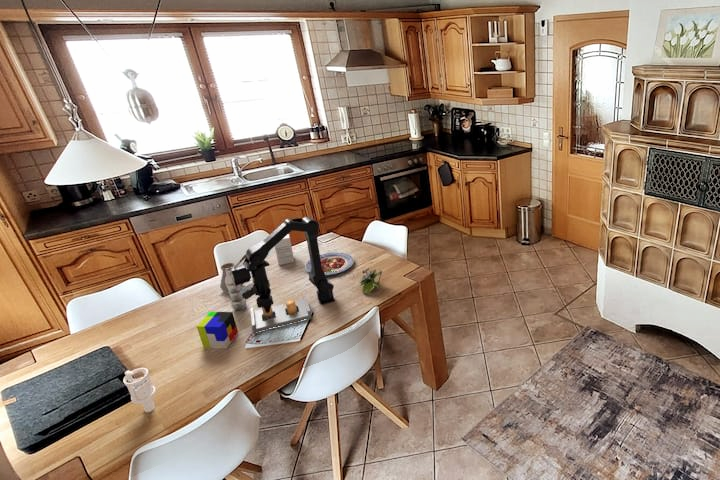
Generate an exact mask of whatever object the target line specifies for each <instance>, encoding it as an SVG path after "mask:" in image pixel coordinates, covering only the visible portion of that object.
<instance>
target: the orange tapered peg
mask: <svg viewBox="0 0 720 480" xmlns="http://www.w3.org/2000/svg"><path fill="white" fill-rule="evenodd" d="M295 301H296V300H295V299H290V300H287V301H286V302H285V303H286V307H287V312H286V313H287V315H290V314H294V313H298V310H297V308H296V303H295Z"/></svg>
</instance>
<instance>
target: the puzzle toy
mask: <svg viewBox="0 0 720 480" xmlns="http://www.w3.org/2000/svg"><path fill="white" fill-rule="evenodd" d="M196 329H197V333H198V334H199V337H200V341H201V345H202V347H203V348H210V349H211V348H218V349H227V348H228V346H229V345H230V344H231V342H232V341H234V339H235V337H236V336H237V335H238V333H239V331H238V326H237V324H236V319H235V315H234V312H233V311H209V312H208V313H207V314H206V315H205V316H204V318H203V319H201V321H200V322H199V323H198V324H197V325H196Z"/></svg>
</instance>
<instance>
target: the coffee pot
mask: <svg viewBox="0 0 720 480" xmlns="http://www.w3.org/2000/svg"><path fill="white" fill-rule="evenodd" d="M245 258H246V253H245V254H244V255H243V256H242V257H241V259H240V260H239V261H238V262H237V263H236V265H235V264H234V263H233V262H228V263H224V264H222V265H221V266H220V269H221V270H222V273H221V274H222V275H221V281H220V285H219V286H220V288H221V290H222V291H224V292H226V293H229V290H228V288H227V286H226V284H225V278H226V276H227V275H226V271H225V270H226V269H227V268H231V267H233V268H238V267H239V265H240V264H241V263H242V262H244V260H245ZM244 284H245V283H243V284H241V288H243V286H244ZM229 294H230V293H229Z"/></svg>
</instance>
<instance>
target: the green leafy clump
mask: <svg viewBox="0 0 720 480" xmlns="http://www.w3.org/2000/svg"><path fill="white" fill-rule="evenodd" d="M369 270H370V268H365V269H364V270H362V274H363V276H361V277H360V280H359V282H358V284H360V286H362V293H363V294H367V293H371V292H372V291H373V289H375V287H376V288H378V289H382V286H381V285H380V284H381V283H380V281H381V278H382V277H381V276H382V273H383V271H382V270H378V271H377V270H376V269H372V270H370V271H369ZM368 271H369V272H368ZM364 274H365V275H364ZM377 276H379V278H378V281H375V280H376V277H377Z"/></svg>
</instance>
